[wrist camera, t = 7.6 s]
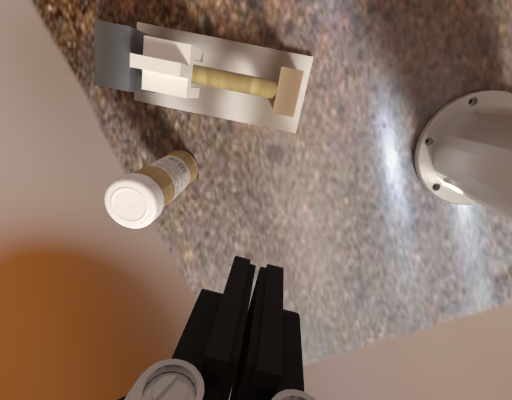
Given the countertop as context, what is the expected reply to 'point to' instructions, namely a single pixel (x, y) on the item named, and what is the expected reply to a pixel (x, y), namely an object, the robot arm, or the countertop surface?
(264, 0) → the countertop surface
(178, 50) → the sleeve
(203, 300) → the robot arm
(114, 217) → the sprinkles bottle
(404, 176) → the countertop surface
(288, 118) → the linear actuator
